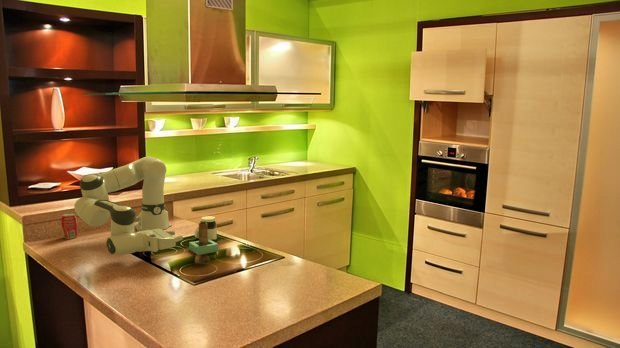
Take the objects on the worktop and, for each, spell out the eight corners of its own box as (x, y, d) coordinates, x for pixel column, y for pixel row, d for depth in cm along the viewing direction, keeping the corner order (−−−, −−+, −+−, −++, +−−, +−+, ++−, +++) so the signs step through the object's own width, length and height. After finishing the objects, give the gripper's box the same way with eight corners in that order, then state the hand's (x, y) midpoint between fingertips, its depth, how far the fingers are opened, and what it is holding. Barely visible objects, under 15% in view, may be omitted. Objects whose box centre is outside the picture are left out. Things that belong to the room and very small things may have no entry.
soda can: (70, 235, 254) (68, 212, 252) (81, 236, 251) (79, 213, 249) (59, 238, 247) (57, 215, 245) (70, 240, 245) (68, 216, 243)
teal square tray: (189, 249, 231) (189, 242, 230) (209, 246, 237) (209, 239, 236) (198, 255, 223) (197, 247, 222) (218, 251, 229) (218, 244, 228)
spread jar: (214, 243, 241) (213, 220, 239) (191, 243, 241) (190, 220, 240) (219, 236, 253) (218, 214, 251) (197, 236, 253) (196, 214, 252)
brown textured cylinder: (197, 250, 230) (197, 221, 228) (205, 248, 233) (205, 219, 230) (201, 252, 227) (200, 222, 225) (209, 250, 229) (208, 221, 227)
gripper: (140, 241, 222) (170, 236, 230) (155, 253, 206) (187, 247, 214) (139, 227, 221) (169, 223, 229) (154, 238, 205) (186, 233, 213)
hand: (178, 235), depth 221 cm, fingers open, 8 cm apart
